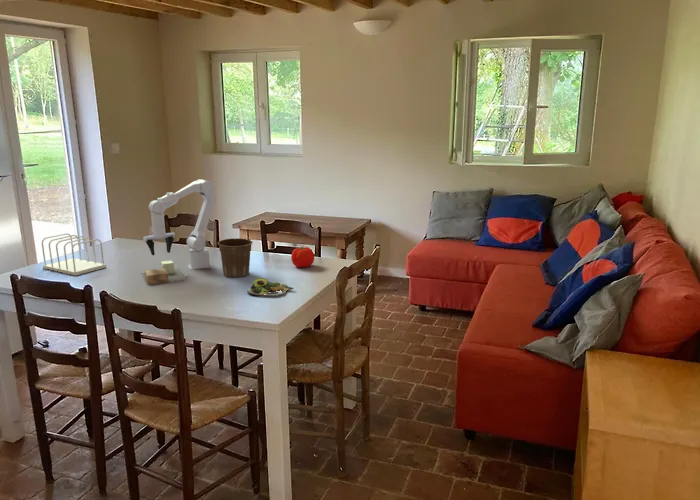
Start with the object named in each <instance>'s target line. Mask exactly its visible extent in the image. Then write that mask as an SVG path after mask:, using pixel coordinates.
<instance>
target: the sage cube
mask: <svg viewBox="0 0 700 500" xmlns="http://www.w3.org/2000/svg"><path fill="white" fill-rule="evenodd" d="M160 266H161V268H160V269H163V268H165V270H166V271H167V273H168V274H170V273H174V269H175V263H174V262H173V260H165V261H164V260H163V261H160Z"/></svg>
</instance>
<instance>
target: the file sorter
mask: <svg viewBox="0 0 700 500" xmlns="http://www.w3.org/2000/svg"><path fill="white" fill-rule="evenodd" d="M61 236H63V237H61ZM55 237H56V238H55ZM58 237H59V238H58ZM51 238H54V239H51ZM46 239H51V240H49V242H48V251H49V257H50V262H51V263H47V262H46V256H45V246H44V241H45V240H46ZM58 240H59V241H58ZM83 240H84V241H83ZM53 241H57V242H56V243H55V250H56V251H55V252H56V257H57V261H56V262H53V261H54V260H53V256H52V250H51V243H52V242H53ZM80 241H82V242H80ZM95 241H98V242H99V246H100V254H101V262H102V263H101V262H97V258H96V251H95V243H94V242H95ZM63 242H65V244H64V245H63V255H64V259H65V260H62V261H61V260H60V257H59V250H58V249H59V248H58V245H59V244H60V243H63ZM75 242H76V243H75ZM87 243H91V244H92V252H93V258H94V261H89V253H88V246H87V245H88V244H87ZM68 244H70V245H71V255H72V258H68V259H67V252H66V251H67V250H66V246H67V245H68ZM81 244H84V245H85V246H84V247H85V253H86V260H85V259H82V252H81ZM77 245H78V251H79V252H78V254H79V258H75V252H74V247H75V246H77ZM41 249H42V255H43V263H44V264H42V269H43V268H44V269H43V270H47V269H49V270H48V271H52V270H54V271H53V272H57V271H58V272H57V273H61V272H62V273H61V274H66V275H70V274H71V275H72V276H79V275H82V274H85V273H91V272H93V271H98V270H101V269H104V268H107V264H105V263H104V253H103V252H104V251H103V243H102V241H101V240H100V239H98V238H96V239H95V238H94V239H93V238H92V237H89V236H87V237H85V236H83V235H79V236H78V235H76V234H72V235H71V234H69V233H67V232H66V233H61V234H55V235H51V236H45V237H44V238H43V239H42V240H41ZM71 275H70V276H71Z"/></svg>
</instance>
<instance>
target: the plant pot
mask: <svg viewBox="0 0 700 500" xmlns="http://www.w3.org/2000/svg"><path fill="white" fill-rule="evenodd" d="M217 245H218V248H219V252H220V259H221V267H222V273H223V276H224V277H226V278H230V279H231V278H237V279H238V278H244V277H247V276H249V275H250V261H251V251H252V245H253V240H251V239H247V238H240V237H239V238H237V237H236V238H225V239H222V240H221V239H220V240H219V241H218V242H217Z"/></svg>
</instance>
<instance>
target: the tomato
mask: <svg viewBox="0 0 700 500" xmlns="http://www.w3.org/2000/svg"><path fill="white" fill-rule="evenodd" d="M304 246H305V245H302V246H300V247H296V248H295V249H293V250H292V253H291V256H290V257H291V262H292V264H293V265H294V266H295V267H296V268H308V267H310V266H311V265H313V263H314V262H315V253H314V250H313V249H311V248H310V247H309V246H307V247H304Z"/></svg>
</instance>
